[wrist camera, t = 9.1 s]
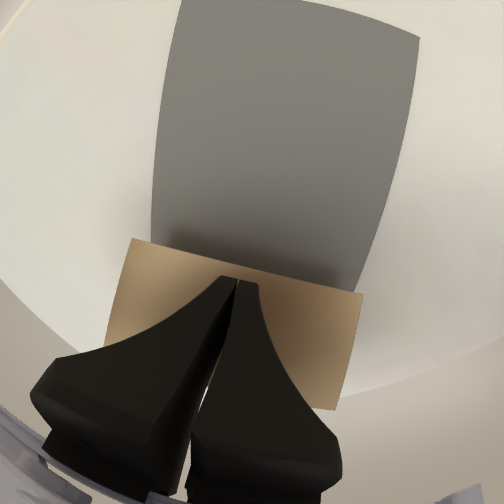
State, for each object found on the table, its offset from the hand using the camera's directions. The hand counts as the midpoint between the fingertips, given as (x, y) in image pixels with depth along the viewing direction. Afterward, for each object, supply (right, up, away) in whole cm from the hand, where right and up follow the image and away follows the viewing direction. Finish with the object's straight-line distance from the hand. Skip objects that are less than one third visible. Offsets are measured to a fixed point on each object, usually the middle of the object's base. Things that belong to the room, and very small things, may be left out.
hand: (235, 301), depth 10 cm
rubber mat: (+1, +5, +4) cm, 6 cm away
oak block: (0, -1, 0) cm, 1 cm away
